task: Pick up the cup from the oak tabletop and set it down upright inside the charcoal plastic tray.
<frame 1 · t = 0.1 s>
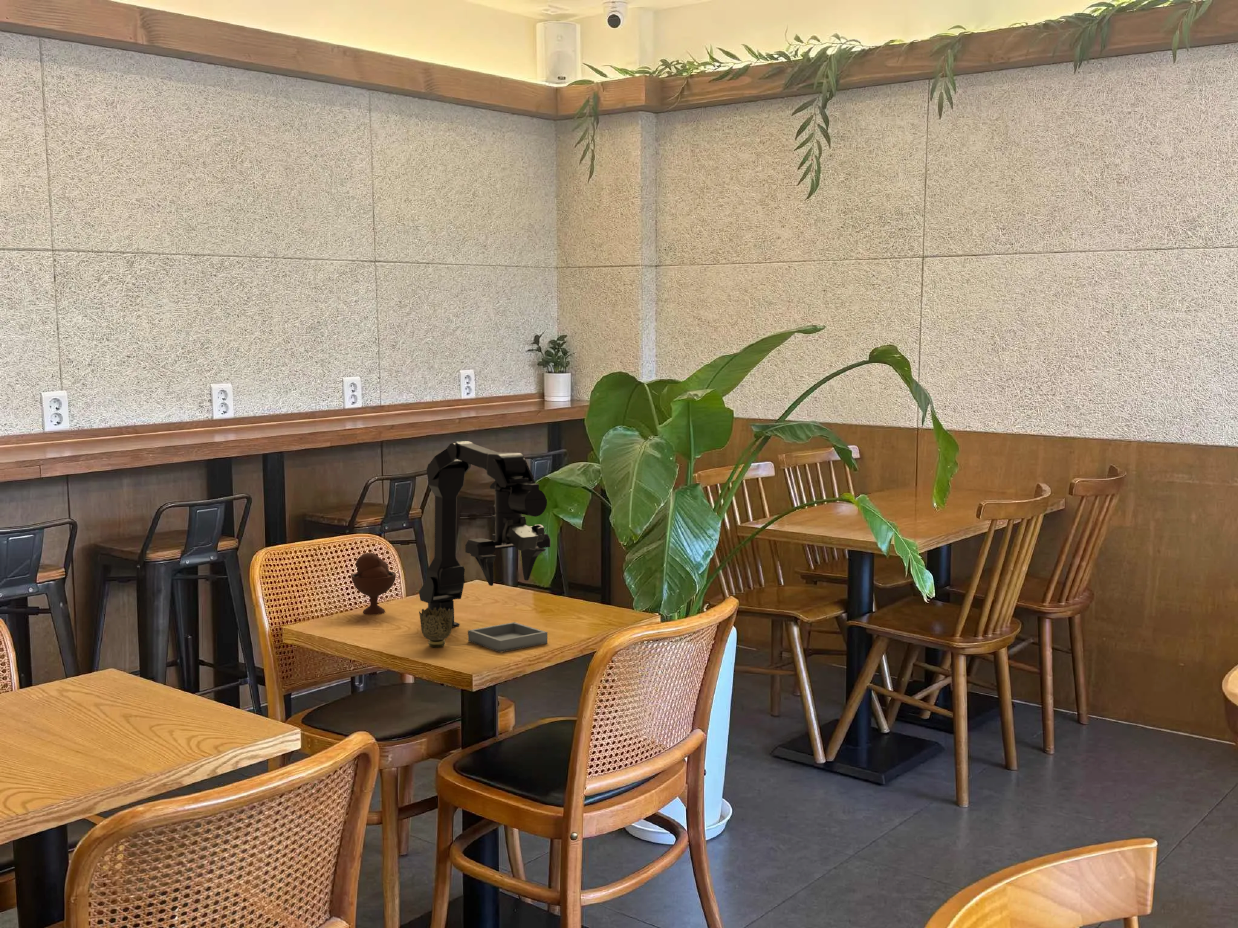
hand: (508, 582, 266), 15 cm above the table, tool pointing down, fingers open, 9 cm apart
tray: (507, 642, 273), on the table
ice cream bowl: (374, 613, 303), on the table
cup: (436, 647, 270), on the table
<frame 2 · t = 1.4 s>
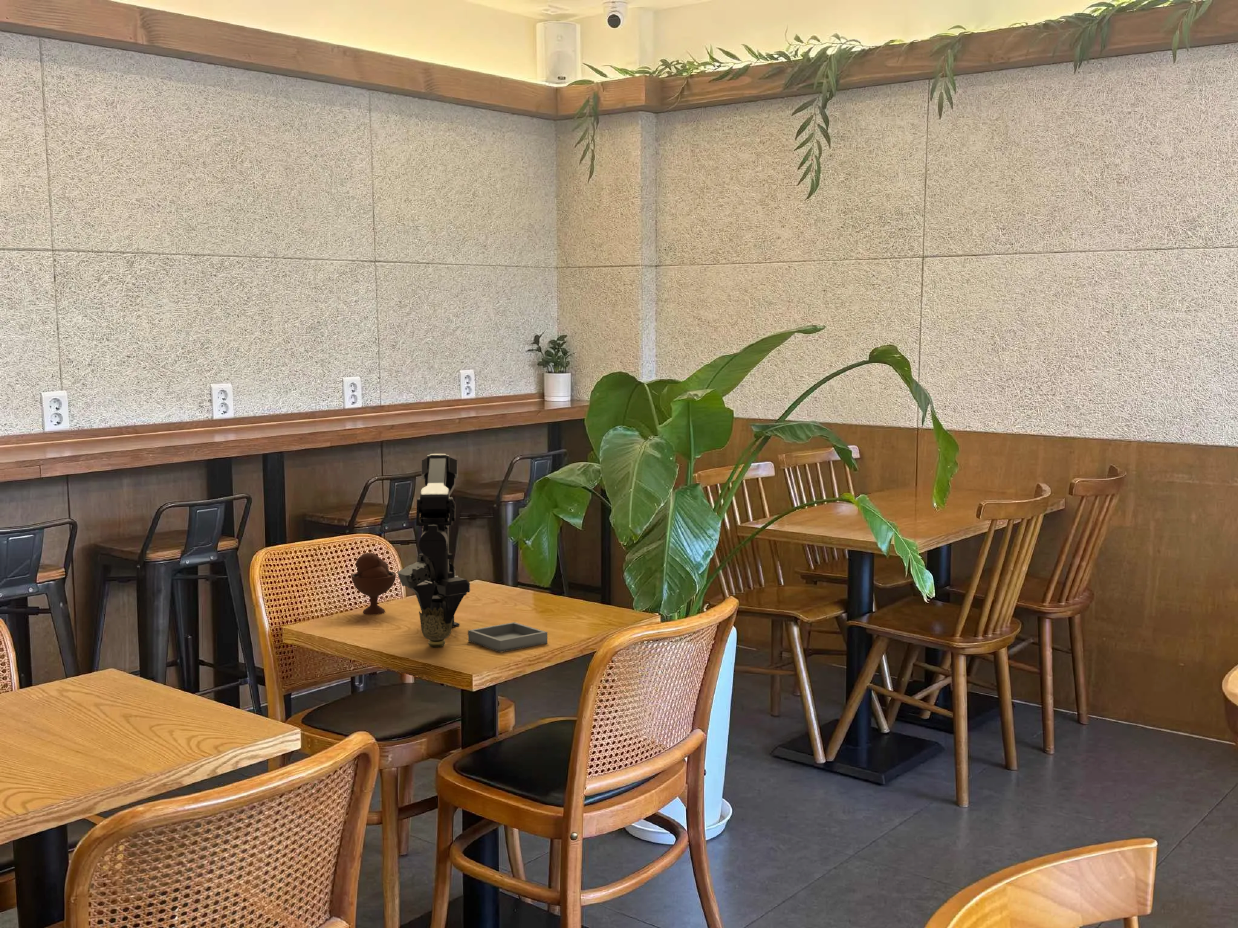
hand: (436, 619, 269), 6 cm above the table, tool pointing down, fingers open, 9 cm apart
nothing on the table moved.
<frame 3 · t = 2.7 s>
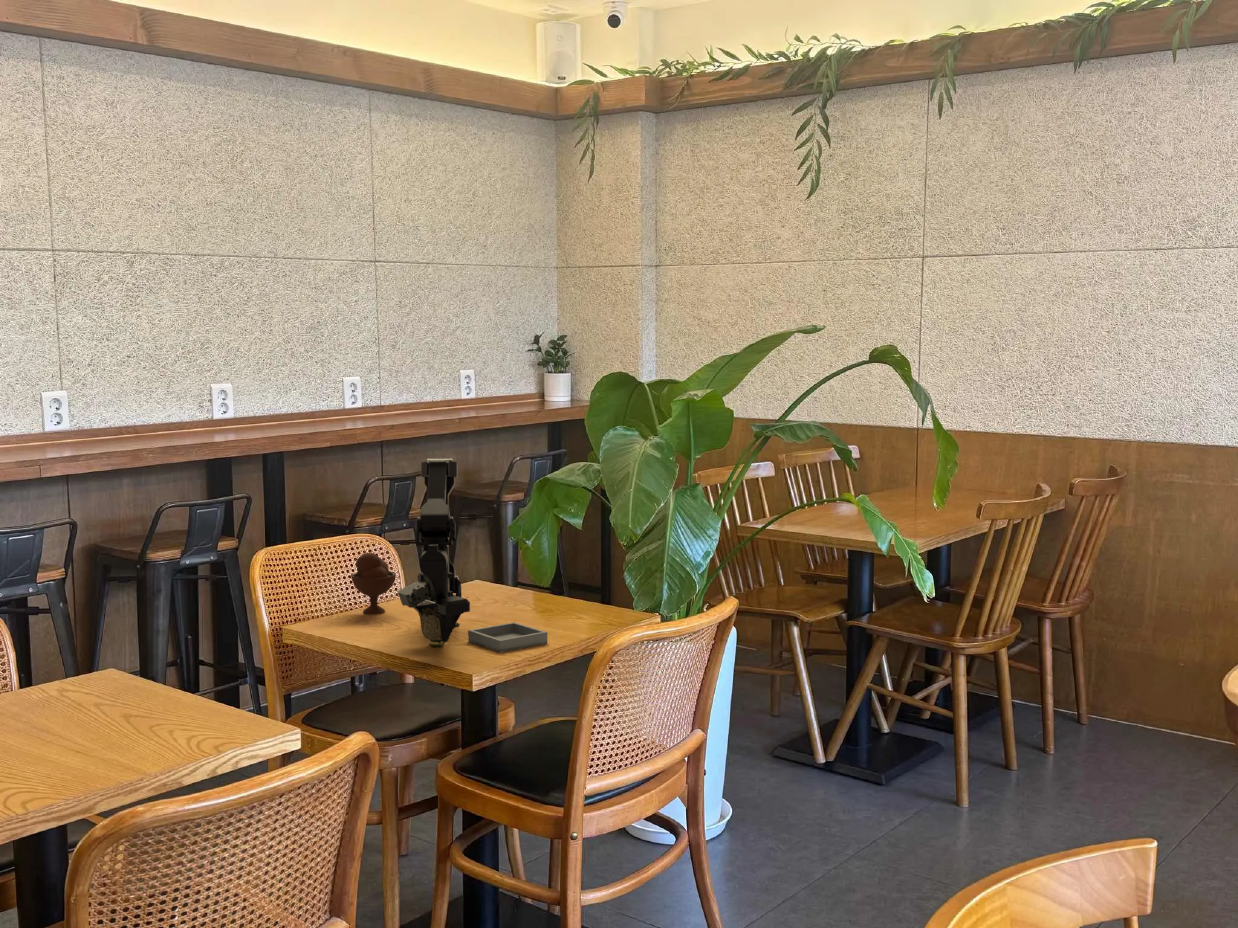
hand: (436, 638, 270), 2 cm above the table, tool pointing down, fingers closed on cup, 6 cm apart
cup: (436, 647, 270), on the table, touching gripper
everything else where it was.
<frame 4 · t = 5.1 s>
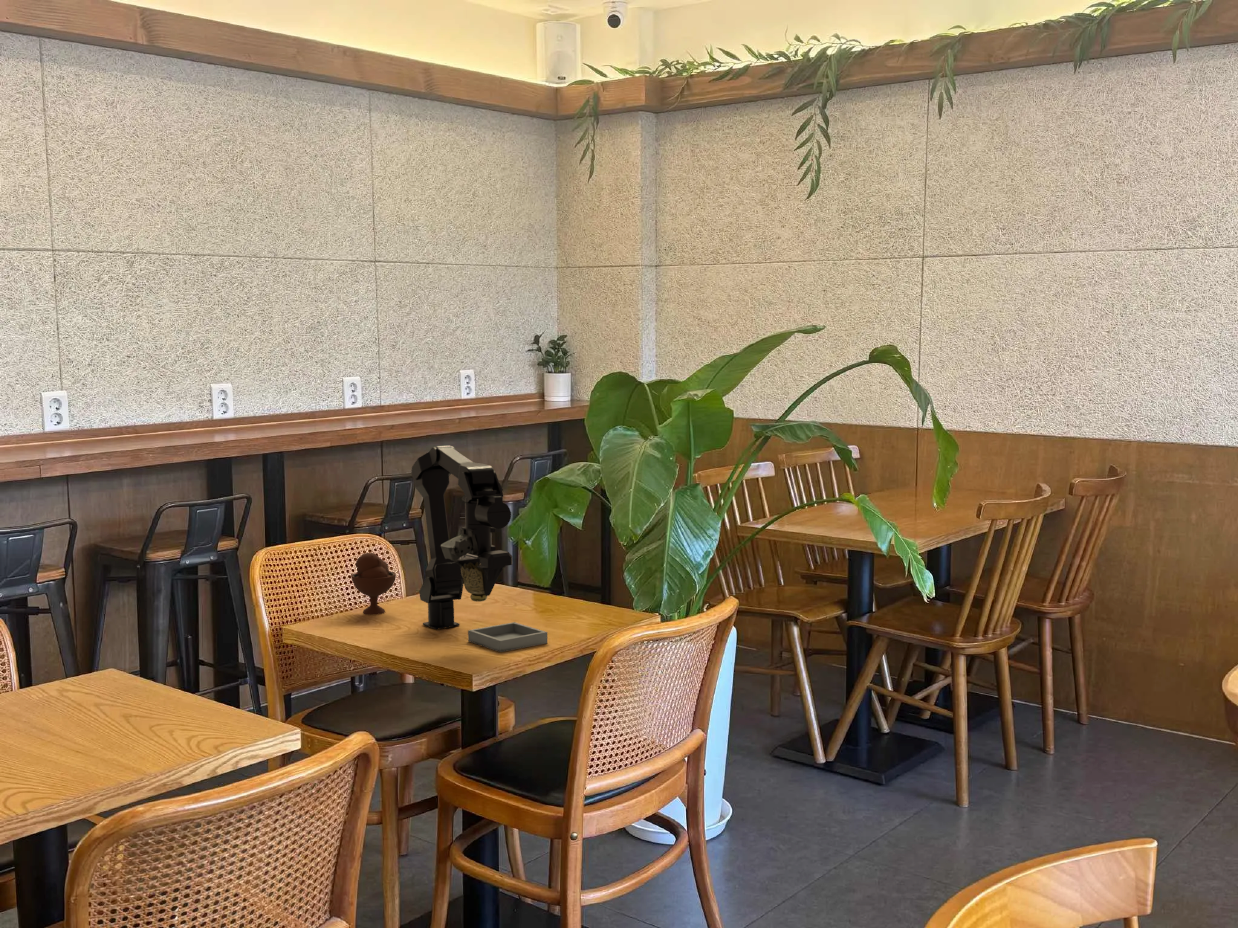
hand: (479, 593, 271), 11 cm above the table, tool pointing down, fingers closed on cup, 6 cm apart
cup: (478, 601, 271), point 10 cm above the table, touching gripper
everything else where it was.
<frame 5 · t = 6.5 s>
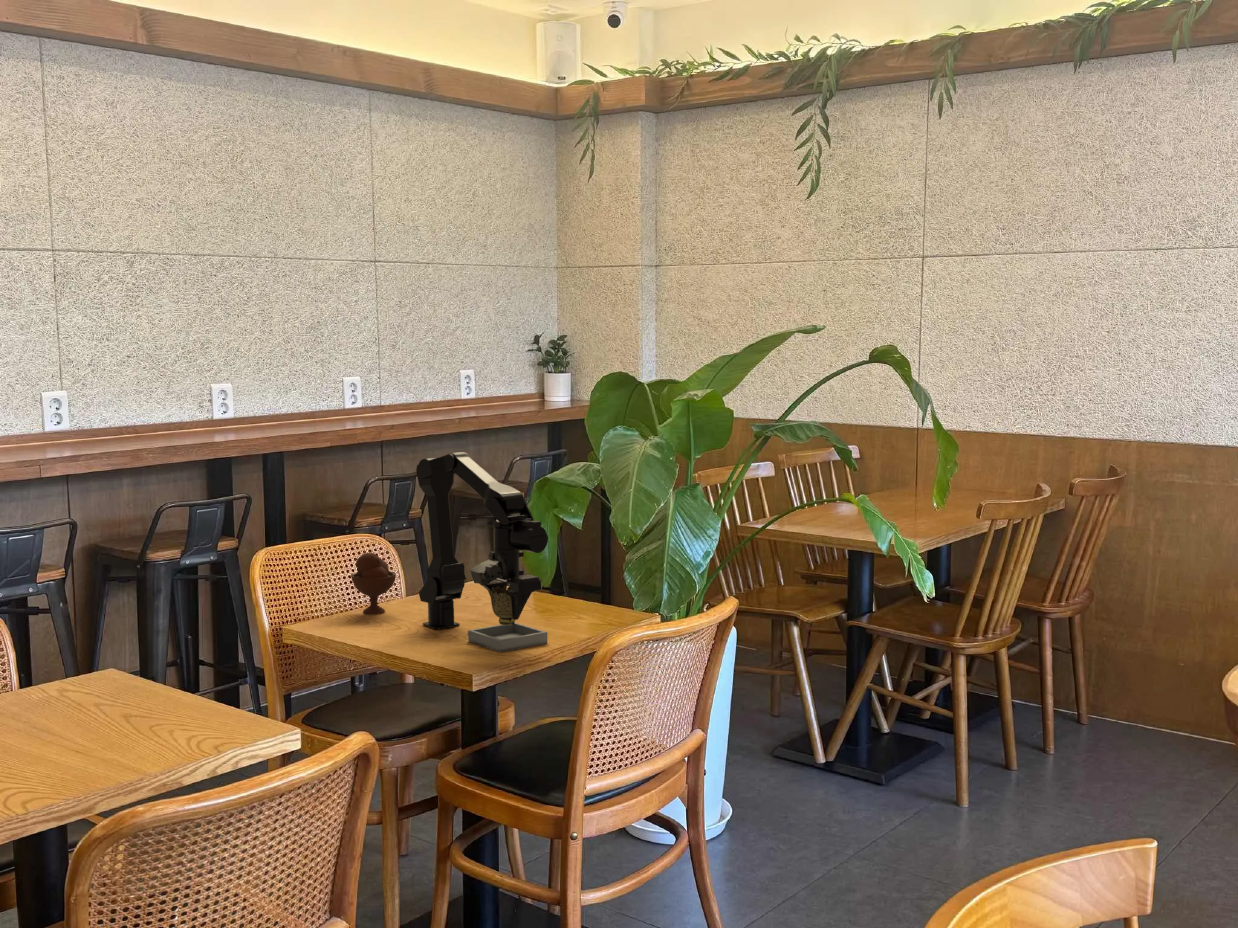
hand: (507, 616, 273), 6 cm above the table, tool pointing down, fingers closed on cup, 6 cm apart
cup: (507, 624, 273), point 4 cm above the table, touching gripper
everything else where it was.
when the fingers open (4 cm above the table, at t = 7.8 s): cup drops 2 cm, resting on tray.
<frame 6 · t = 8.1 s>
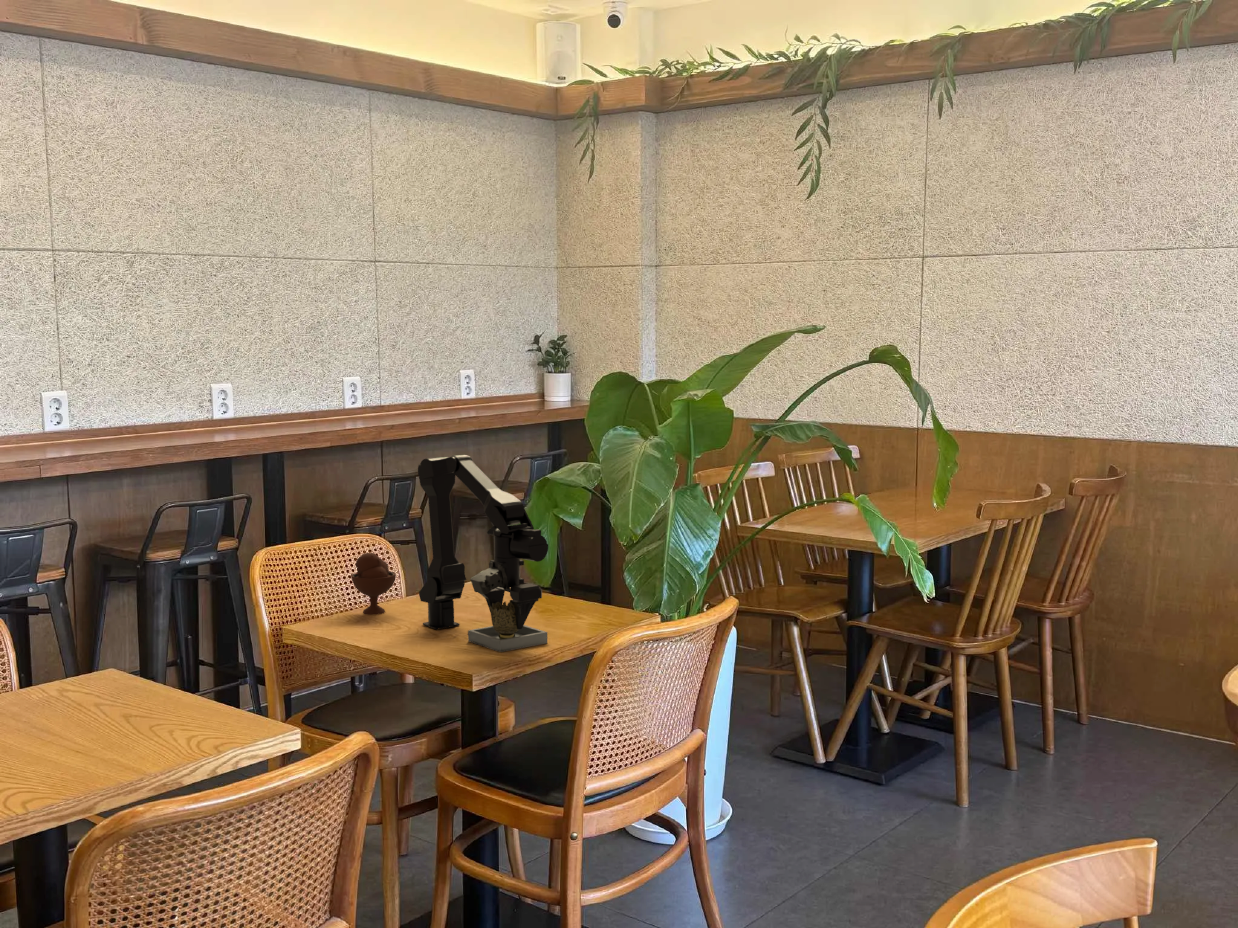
hand: (507, 625, 273), 4 cm above the table, tool pointing down, fingers open, 9 cm apart
cup: (507, 640, 273), resting on tray
everything else where it was.
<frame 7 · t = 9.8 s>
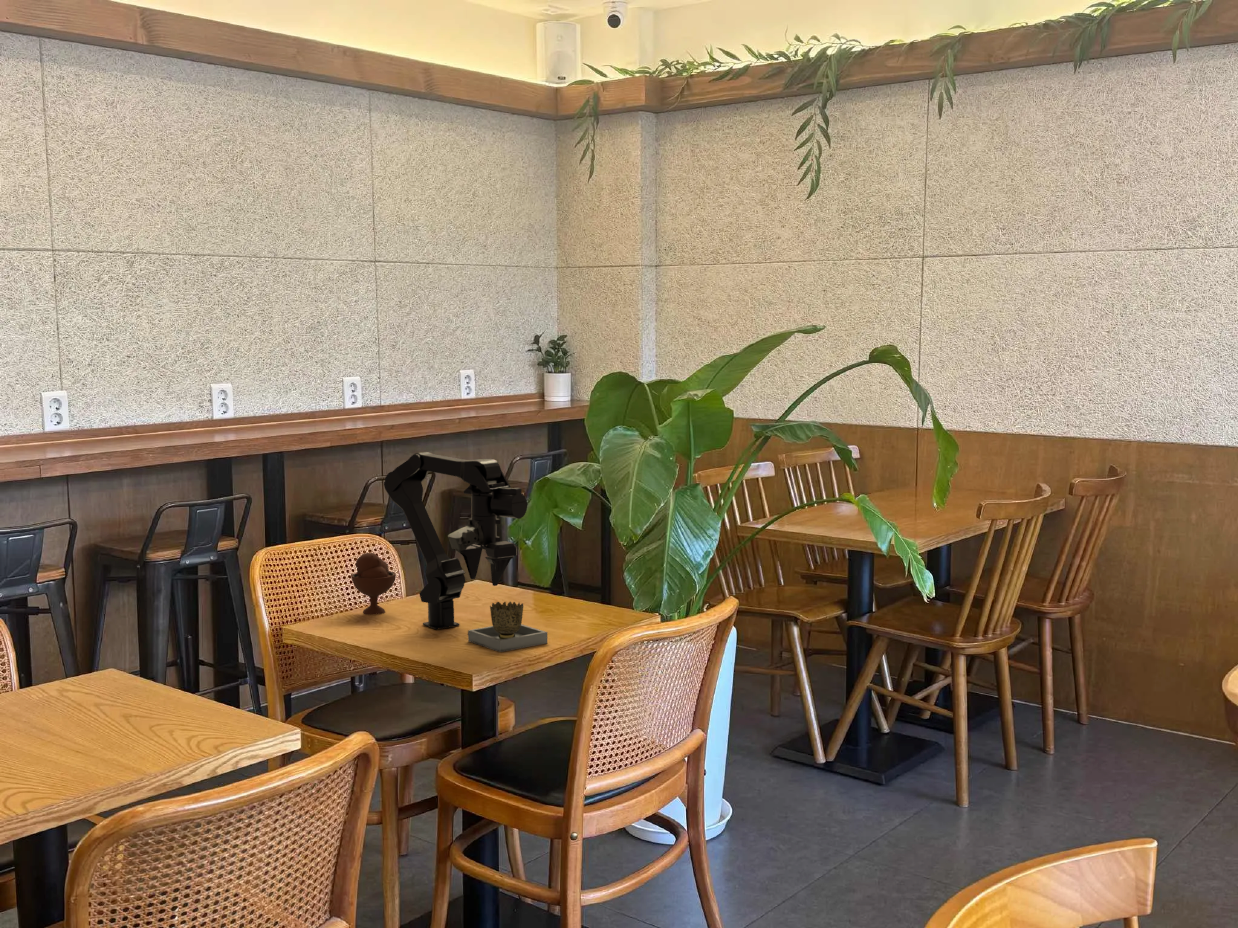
hand: (483, 582, 281), 12 cm above the table, tool pointing down, fingers open, 9 cm apart
nothing on the table moved.
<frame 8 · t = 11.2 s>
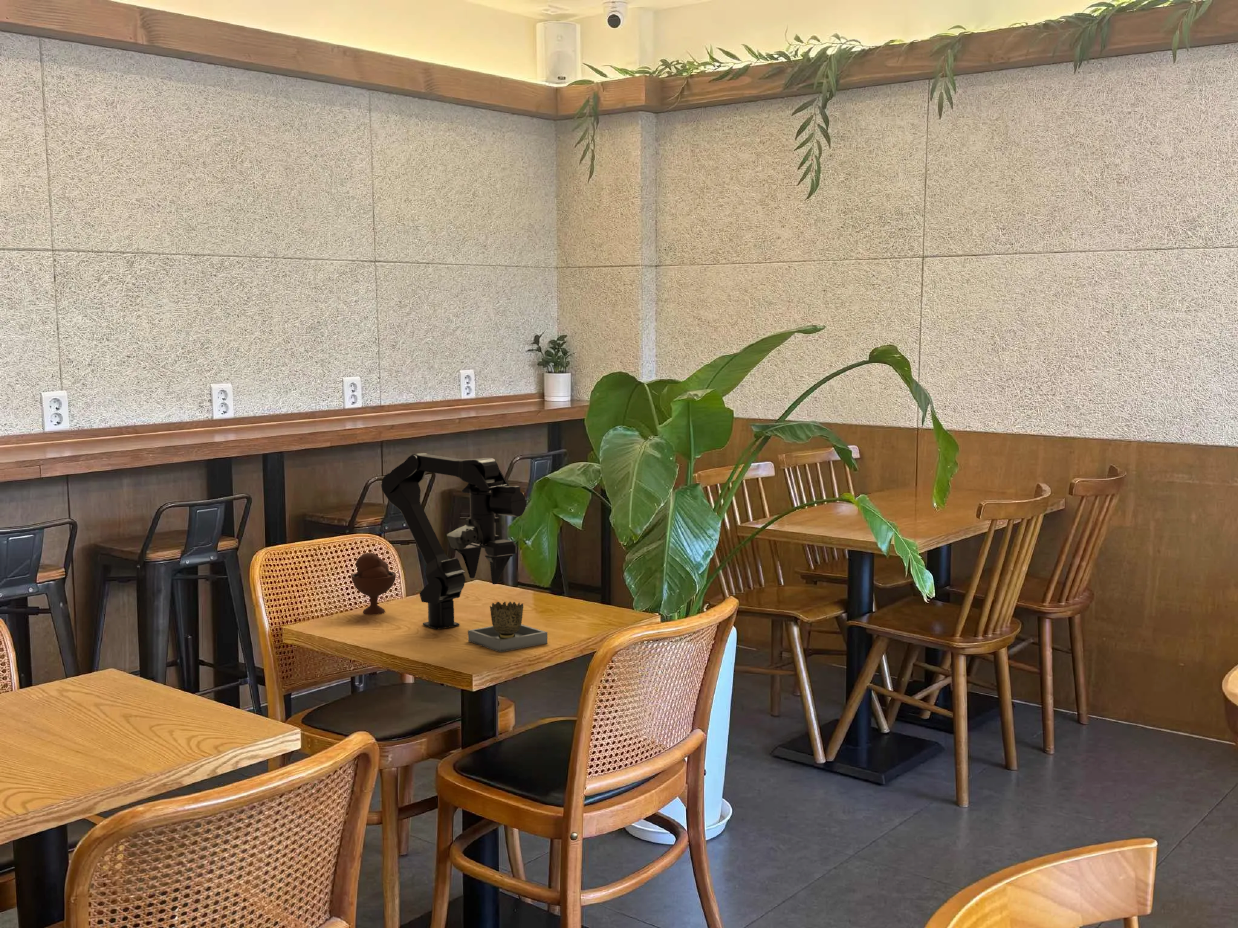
hand: (483, 581, 281), 12 cm above the table, tool pointing down, fingers open, 9 cm apart
nothing on the table moved.
at the end: cup inside the target area on the tray (0.1 cm from its centre), point 0.3 cm above the tray's base; cup tilted 0°; the gripper is holding nothing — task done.
